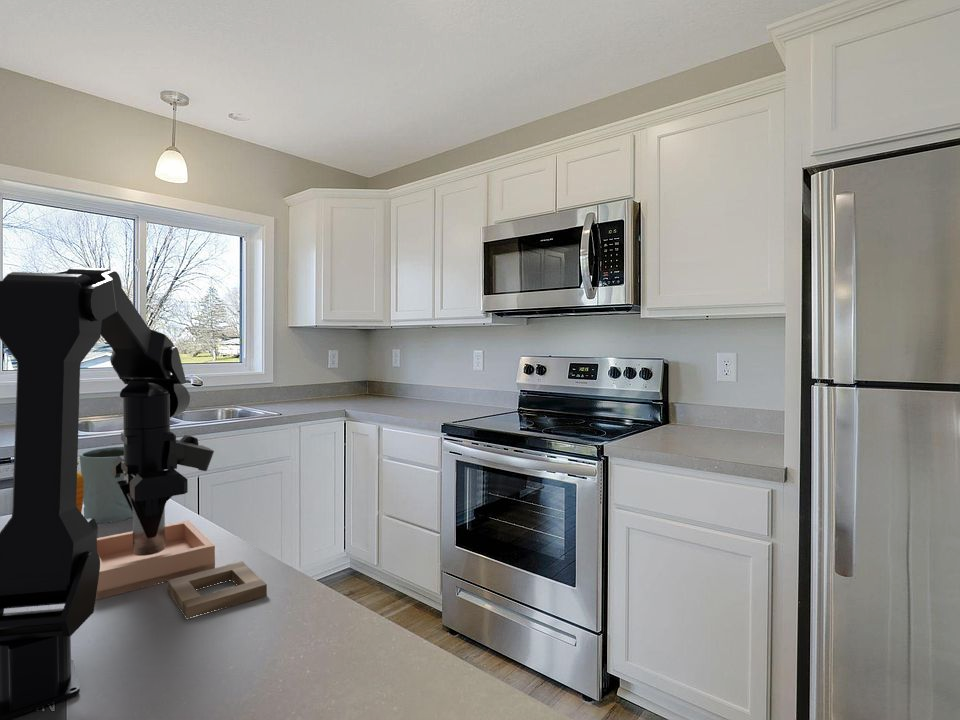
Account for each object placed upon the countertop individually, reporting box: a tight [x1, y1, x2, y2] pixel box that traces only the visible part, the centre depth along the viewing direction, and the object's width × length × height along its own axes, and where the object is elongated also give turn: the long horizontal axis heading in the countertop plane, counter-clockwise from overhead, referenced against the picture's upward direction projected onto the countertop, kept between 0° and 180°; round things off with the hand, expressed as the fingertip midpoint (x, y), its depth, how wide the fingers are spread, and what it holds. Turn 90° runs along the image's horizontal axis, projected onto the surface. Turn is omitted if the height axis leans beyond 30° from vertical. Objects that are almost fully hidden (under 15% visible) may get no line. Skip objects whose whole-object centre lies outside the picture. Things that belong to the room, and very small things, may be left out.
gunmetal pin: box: [131, 506, 166, 556], centre depth 78 cm, size 4×4×7 cm
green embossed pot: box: [79, 446, 132, 524], centre depth 101 cm, size 10×10×12 cm
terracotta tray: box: [96, 520, 216, 600], centre depth 79 cm, size 14×14×4 cm
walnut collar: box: [167, 561, 268, 619], centre depth 71 cm, size 9×9×2 cm
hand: (148, 533), depth 78 cm, fingers closed on gunmetal pin, 4 cm apart
